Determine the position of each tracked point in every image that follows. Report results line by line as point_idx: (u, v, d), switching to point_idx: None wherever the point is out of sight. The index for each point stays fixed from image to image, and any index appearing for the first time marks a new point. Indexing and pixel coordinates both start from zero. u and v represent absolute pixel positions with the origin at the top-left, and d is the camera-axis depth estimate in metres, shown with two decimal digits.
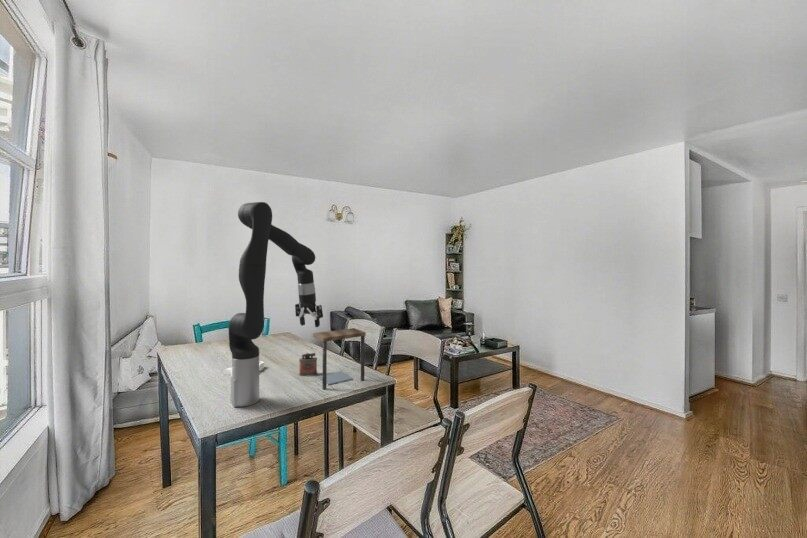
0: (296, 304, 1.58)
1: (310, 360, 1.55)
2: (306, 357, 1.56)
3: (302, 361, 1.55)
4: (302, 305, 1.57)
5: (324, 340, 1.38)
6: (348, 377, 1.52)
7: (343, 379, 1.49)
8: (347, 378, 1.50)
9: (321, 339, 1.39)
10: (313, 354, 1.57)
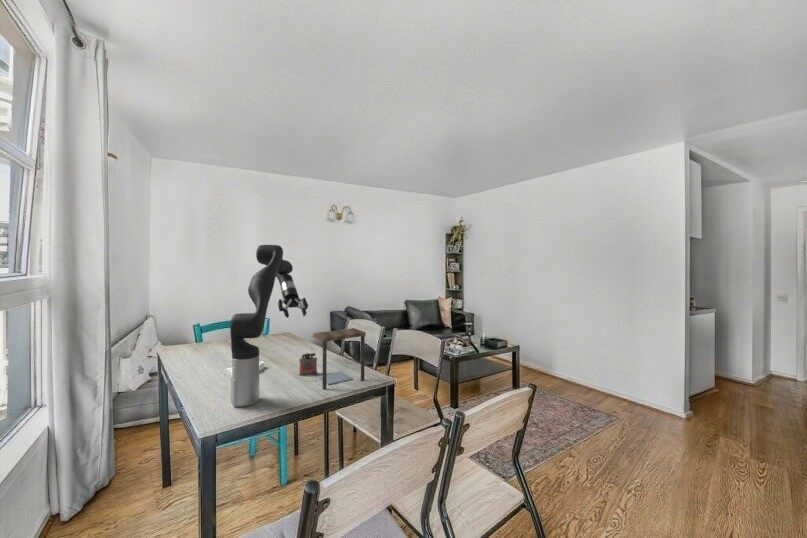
0: (280, 299, 1.71)
1: (310, 360, 1.55)
2: (306, 357, 1.56)
3: (302, 361, 1.55)
4: (287, 299, 1.72)
5: (324, 340, 1.38)
6: (348, 377, 1.52)
7: (343, 379, 1.49)
8: (347, 378, 1.50)
9: (321, 339, 1.39)
10: (313, 354, 1.57)
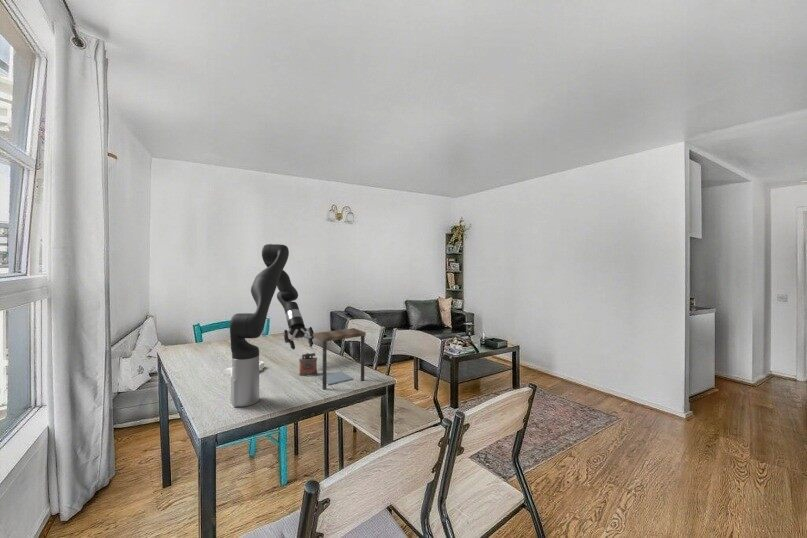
0: None
1: (310, 360, 1.55)
2: (306, 357, 1.56)
3: (302, 361, 1.55)
4: (293, 329, 1.65)
5: (324, 340, 1.38)
6: (348, 377, 1.52)
7: (343, 379, 1.49)
8: (347, 378, 1.50)
9: (321, 339, 1.39)
10: (313, 354, 1.57)
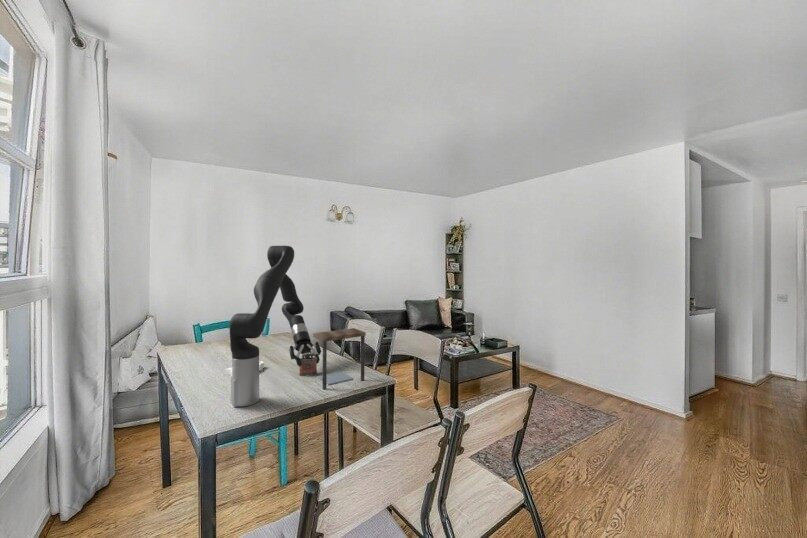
0: None
1: (310, 360, 1.55)
2: (306, 357, 1.56)
3: (302, 361, 1.55)
4: (299, 345, 1.59)
5: (324, 340, 1.38)
6: (348, 377, 1.52)
7: (343, 379, 1.49)
8: (347, 378, 1.50)
9: (321, 339, 1.39)
10: (313, 354, 1.57)
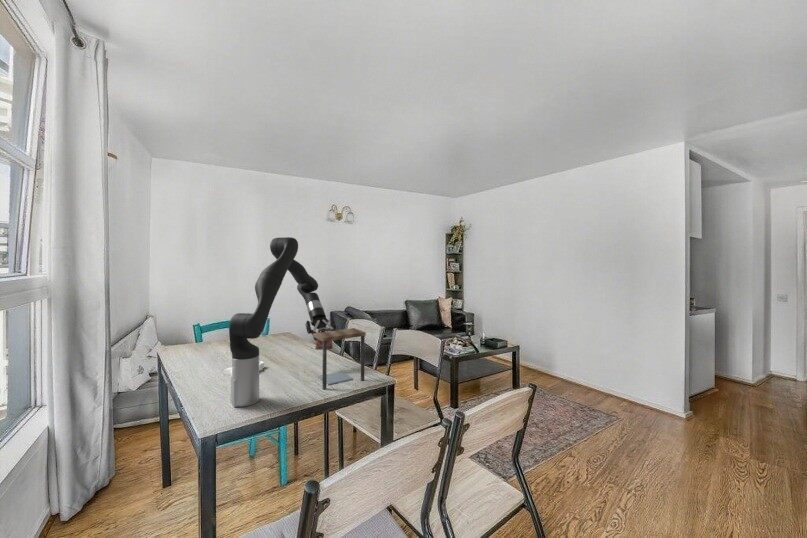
0: None
1: None
2: (322, 331, 1.60)
3: None
4: (315, 320, 1.64)
5: (324, 340, 1.38)
6: (348, 377, 1.52)
7: (343, 379, 1.49)
8: (347, 378, 1.50)
9: (321, 339, 1.39)
10: (329, 329, 1.61)
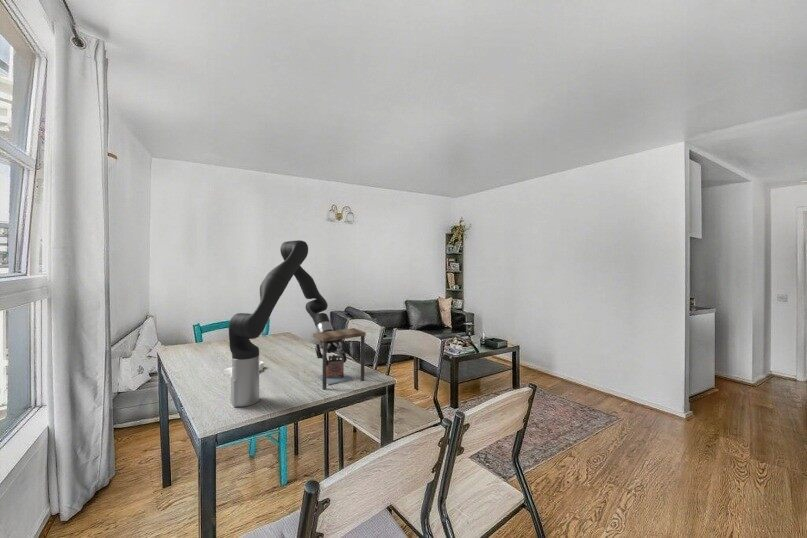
0: (317, 344, 1.52)
1: (337, 362, 1.51)
2: (333, 359, 1.51)
3: (329, 363, 1.50)
4: None
5: (324, 340, 1.38)
6: (348, 377, 1.52)
7: (343, 379, 1.49)
8: (347, 378, 1.50)
9: (321, 339, 1.39)
10: (340, 356, 1.52)
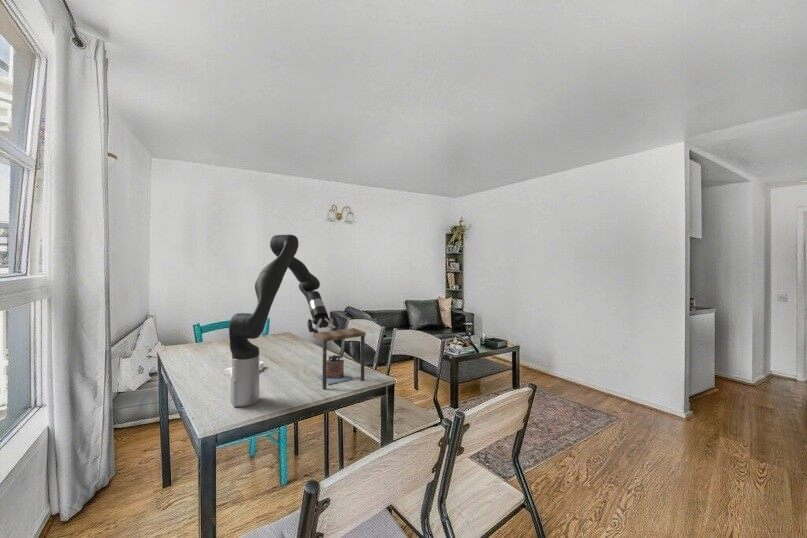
0: (309, 319, 1.60)
1: (337, 362, 1.51)
2: (333, 359, 1.51)
3: (329, 363, 1.50)
4: (317, 319, 1.62)
5: (324, 340, 1.38)
6: (348, 377, 1.52)
7: (343, 379, 1.49)
8: (347, 378, 1.50)
9: (321, 339, 1.39)
10: (340, 356, 1.52)
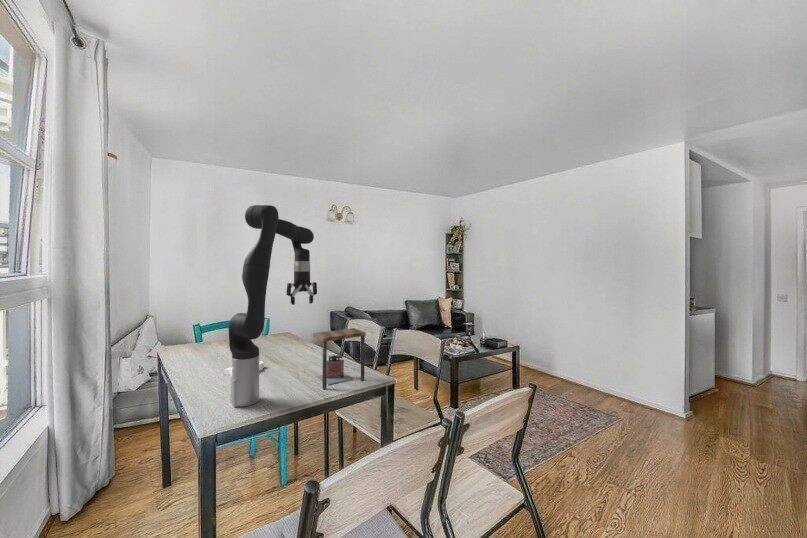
0: (290, 283, 1.58)
1: (337, 362, 1.51)
2: (333, 359, 1.51)
3: (329, 363, 1.50)
4: (297, 283, 1.60)
5: (324, 340, 1.38)
6: (348, 377, 1.52)
7: (343, 379, 1.49)
8: (347, 378, 1.50)
9: (321, 339, 1.39)
10: (340, 356, 1.52)
